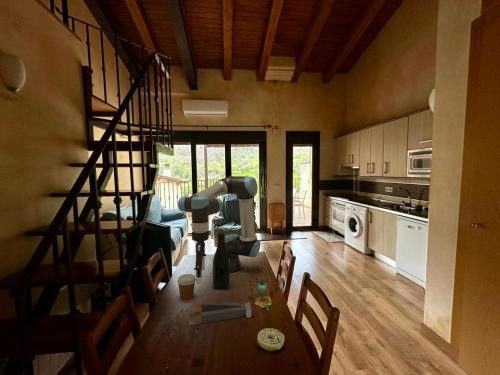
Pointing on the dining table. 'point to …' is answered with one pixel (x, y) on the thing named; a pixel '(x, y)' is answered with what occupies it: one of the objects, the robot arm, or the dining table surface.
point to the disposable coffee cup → (186, 286)
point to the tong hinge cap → (247, 310)
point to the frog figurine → (264, 300)
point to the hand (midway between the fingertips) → (200, 276)
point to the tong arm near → (216, 315)
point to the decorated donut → (268, 343)
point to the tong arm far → (213, 306)
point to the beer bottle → (221, 265)
